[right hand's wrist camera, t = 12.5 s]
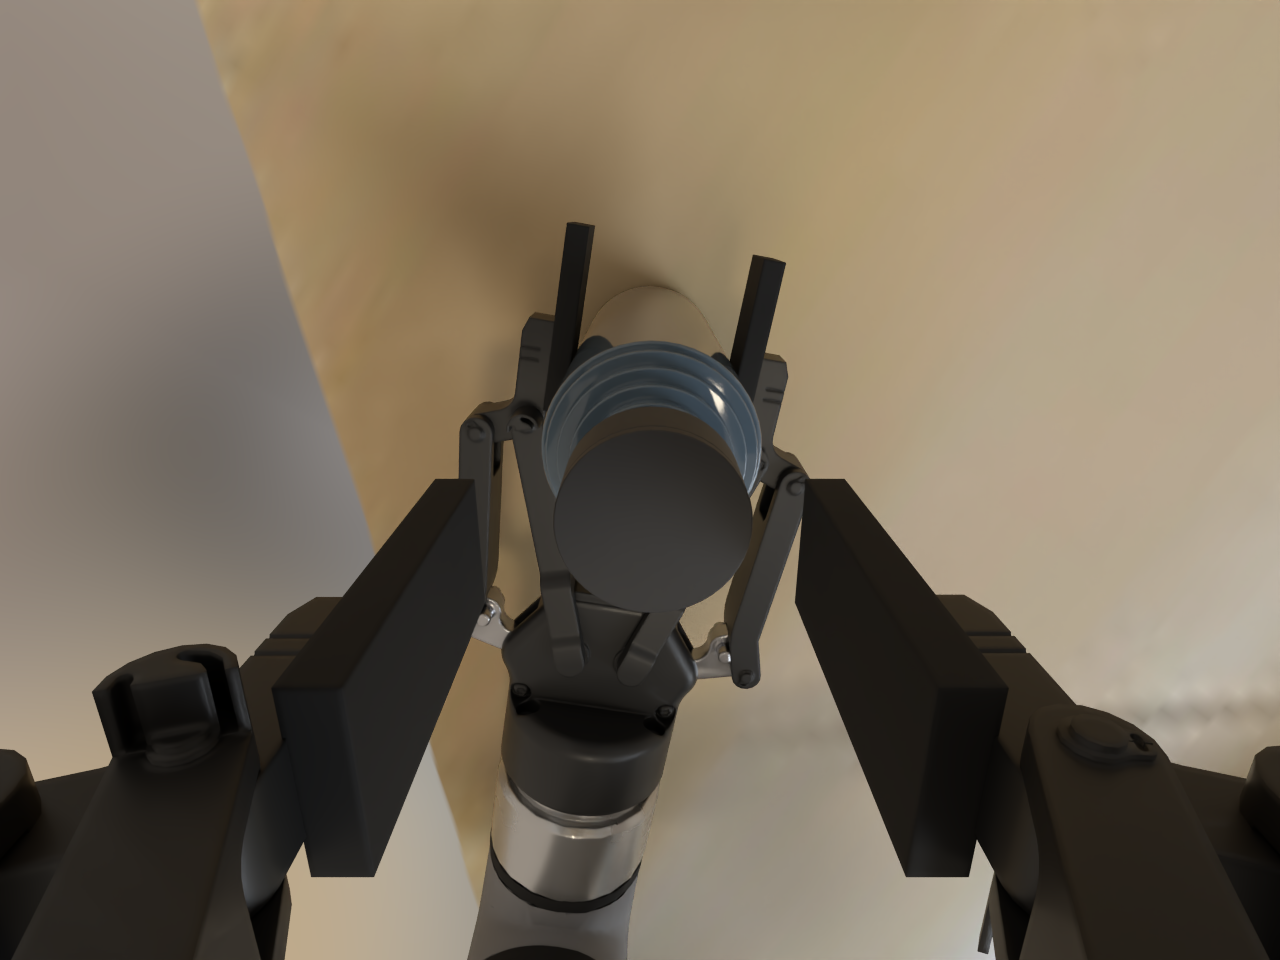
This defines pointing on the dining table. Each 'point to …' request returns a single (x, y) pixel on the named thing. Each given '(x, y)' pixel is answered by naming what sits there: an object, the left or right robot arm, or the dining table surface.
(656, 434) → the cap
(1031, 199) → the dining table surface
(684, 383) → the bottle
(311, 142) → the dining table surface
